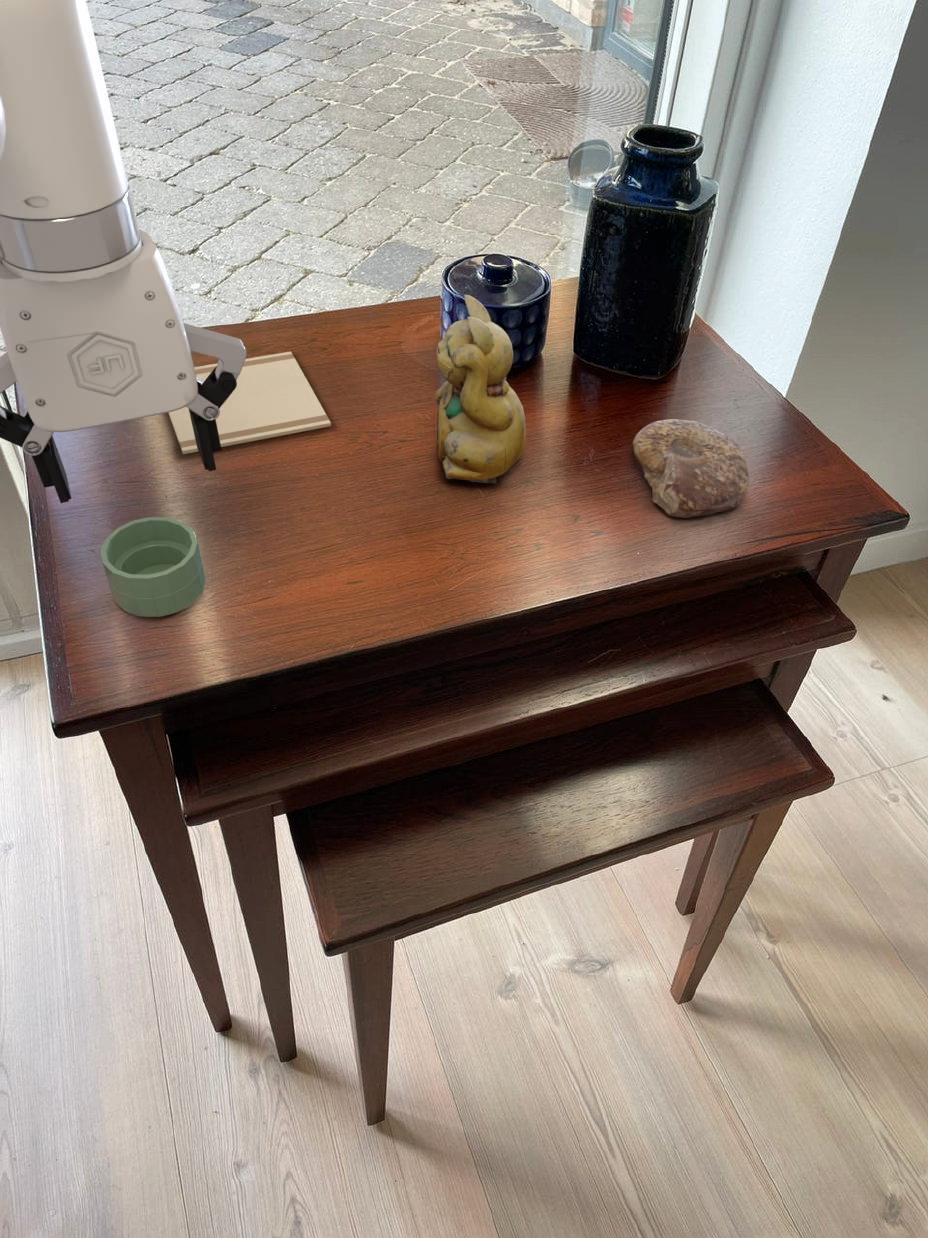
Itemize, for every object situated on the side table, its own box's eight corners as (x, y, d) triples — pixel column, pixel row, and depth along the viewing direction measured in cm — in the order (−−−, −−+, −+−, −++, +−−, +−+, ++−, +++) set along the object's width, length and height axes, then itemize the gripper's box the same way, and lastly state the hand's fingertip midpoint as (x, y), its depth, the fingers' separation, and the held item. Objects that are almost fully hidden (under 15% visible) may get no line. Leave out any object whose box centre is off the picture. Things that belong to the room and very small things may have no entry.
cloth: (183, 454, 81) (182, 450, 81) (155, 376, 90) (154, 373, 90) (331, 426, 86) (331, 422, 85) (291, 354, 94) (291, 351, 94)
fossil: (764, 517, 77) (668, 473, 74) (726, 553, 81) (633, 512, 77) (743, 425, 85) (656, 382, 82) (709, 461, 89) (625, 421, 86)
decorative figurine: (428, 433, 86) (433, 282, 75) (513, 431, 87) (529, 281, 76) (439, 496, 79) (445, 340, 68) (530, 493, 80) (551, 339, 69)
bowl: (122, 631, 66) (107, 587, 63) (108, 572, 70) (94, 528, 67) (214, 608, 68) (205, 564, 65) (196, 552, 72) (186, 509, 69)
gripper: (-108, 280, 44) (7, 538, 57) (237, 232, 50) (274, 479, 62) (-108, 219, 49) (-1, 470, 62) (208, 181, 54) (247, 420, 67)
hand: (137, 474), depth 62 cm, fingers open, 9 cm apart
